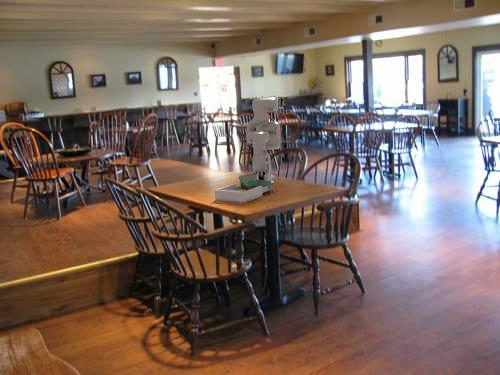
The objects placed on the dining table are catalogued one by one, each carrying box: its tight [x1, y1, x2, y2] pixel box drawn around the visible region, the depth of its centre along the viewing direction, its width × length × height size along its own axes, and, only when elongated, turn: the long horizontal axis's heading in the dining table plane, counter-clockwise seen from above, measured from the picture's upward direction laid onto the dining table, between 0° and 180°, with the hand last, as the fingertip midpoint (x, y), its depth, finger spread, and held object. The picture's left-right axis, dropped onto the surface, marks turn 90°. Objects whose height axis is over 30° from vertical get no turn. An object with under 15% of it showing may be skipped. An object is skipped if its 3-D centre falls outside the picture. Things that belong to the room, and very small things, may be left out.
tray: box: [228, 179, 273, 194], centre depth 303 cm, size 18×20×6 cm
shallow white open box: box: [214, 183, 263, 204], centre depth 295 cm, size 19×20×6 cm
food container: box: [238, 171, 257, 191], centre depth 302 cm, size 12×6×10 cm, turn 133°
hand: (261, 182), depth 314 cm, fingers closed
